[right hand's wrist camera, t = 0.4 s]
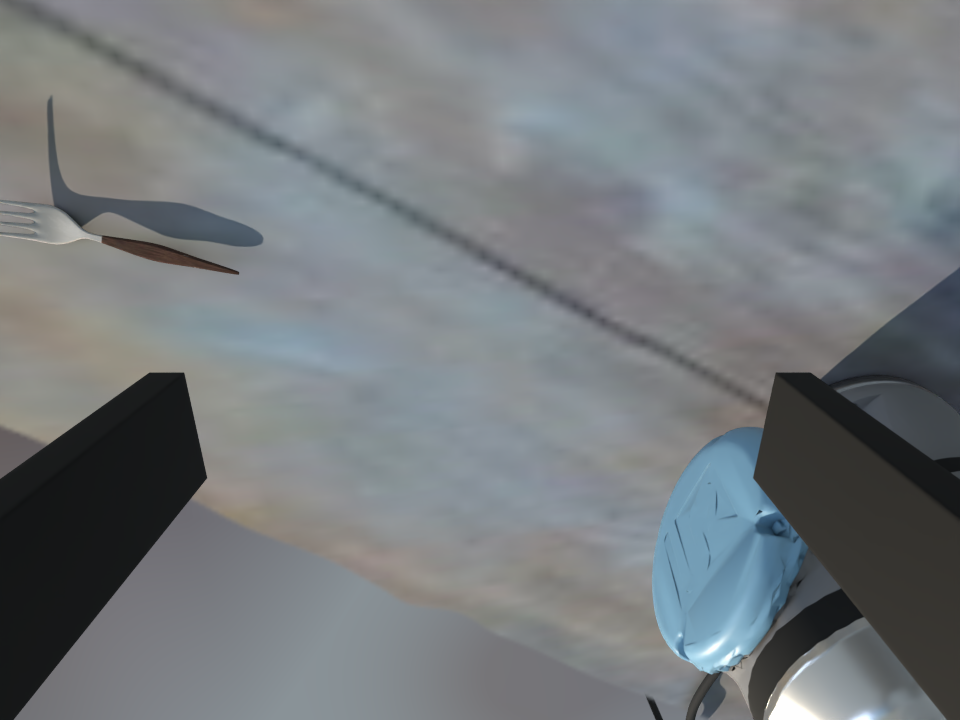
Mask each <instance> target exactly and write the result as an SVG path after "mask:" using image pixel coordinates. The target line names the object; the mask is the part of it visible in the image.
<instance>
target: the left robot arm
mask: <svg viewBox="0 0 960 720" xmlns="http://www.w3.org/2000/svg"><path fill="white" fill-rule="evenodd" d="M829 386H830V387H831V388H833V389H834V390H835V391H837V392H838V393H840V394H841V395H842V396H844V397H845V398H847V399H848V400H849V401H851V402H852V403H854V404H855V405H856V406H858V407H859V408H861V409H862V410H864V411H865V412H866V413H868V414H869V415H871V416H872V417H873V418H875V419H876V420H878V421H879V422H880V423H882V424H883V425H885V426H886V427H887V428H889V429H890V430H892V431H893V432H894V433H896V434H897V435H899V436H900V437H901V438H903V439H904V440H906V441H907V442H908V443H910V444H911V445H913V446H914V447H915V448H917V449H918V450H920V451H921V452H922V453H924V454H925V455H927V456H928V457H930V458H931V459H932V460H934V461H935V462H937V463H938V464H939V465H941V466H942V467H944V468H945V469H946V470H948V471H949V472H951V473H952V474H953V475H955V476H956V477H958V478H959V479H960V415H959V413H958V412H957V411H956V410H955V409H954V408H952V407H951V406H950V405H949V404H948V403H947V402H945V401H944V400H943V399H942V398H940V397H939V396H937V395H936V394H934V393H933V392H931V391H929V390H927V389H925V388H924V387H922V386H920V385H918V384H916V383H914V382H911V381H908V380H906V379H902V378H898V377H891V376H863V377H856V378H851V379H847V380H843V381H840V382H837V383H834V384H832V385H829ZM762 434H763V428H758V427H742V428H737V429H734V430H731V431H729V432H727V433H726V434H725V435H722V436H719V437H717V438H715V439H713V440H712V441H710V442H709V443H708V444H707V445H705V446H704V447H703V448H702V449H701V450H700V451H699V452H698V453H697V454H696V456H695V457H694V458H693V459H692V460H691V462H690V463H689V464H688V466H687V467H686V469H685V470H684V472H683V473H682V475H681V477H680V479H679V480H678V482H677V484H676V486H675V488H674V490H673V492H672V494H671V497H670V499H669V501H668V504H667V507H666V509H665V512H664V515H663V518H662V521H661V525H660V529H659V533H658V539H657V542H656V547H655V553H654V561H653V573H652V590H653V602H654V609H655V614H656V619H657V622H658V625H659V628H660V631H661V633H662V635H663V638H664V639H665V641H666V642H667V644H668V646H669V647H670V648H671V649H672V650H673V651H674V653H675V654H676V655H677V656H679V657H680V658H682V659H683V660H686V661H688V662H691V663H693V664H694V665H695V666H696V667H697V668H698V669H699V670H700V671H702V670H703V671H705V672H707V673H708V674H707V676H706V677H705V679H704V680H703V682H702V683H701V685H700V686H699V688H698V689H697V691H696V693H695V695H694V697H693V698H692V700H691V703H690V705H689V708H688V712H687V716H686V720H695V717H696V713H697V710H698V708H699V705H700V703H701V702H702V700H703V698H704V696H705V695H706V693H707V691H708V690H709V688H710V687H711V685H712V684H713V683H714V681H715V680H716V678H717V677H718V676H719V674H720V673H721V672H724V673H726V674H728V675H729V676H730V677H732V678H733V679H734V680H735V682H736V683H737V684H738V686H739V688H740V689H741V692H742V694H743V696H744V698H745V701H746V703H747V705H748V707H749V709H750V711H751V714H752V717H753V719H754V720H946V718H945V717H944V716H943V715H942V713H941V712H940V711H939V710H938V708H937V707H936V706H935V705H934V703H933V702H932V701H931V700H930V698H929V697H928V696H927V695H926V693H925V692H924V691H923V690H922V688H921V687H920V686H919V685H918V683H917V682H916V681H915V680H914V679H913V677H912V676H911V675H910V674H909V672H908V671H907V670H906V669H905V667H904V666H903V665H902V664H901V662H900V661H899V660H898V659H897V657H896V656H895V655H894V654H893V652H892V651H891V650H890V649H889V647H888V646H887V645H886V644H885V642H884V641H883V640H882V639H881V637H880V636H879V635H878V634H877V632H876V631H875V630H874V629H873V627H872V626H871V625H870V624H869V622H868V621H867V620H866V619H865V617H864V616H863V615H862V614H861V612H860V611H859V610H858V609H857V607H856V606H855V605H854V604H853V602H852V601H851V600H850V599H849V597H848V596H847V595H846V594H845V592H844V591H843V590H842V589H841V587H840V586H839V585H838V584H837V582H836V581H835V580H834V579H833V577H832V576H831V575H830V574H829V572H828V571H827V570H826V569H825V567H824V566H823V565H822V564H821V562H820V561H819V560H818V559H817V557H816V556H815V555H814V554H813V552H812V551H811V550H810V549H809V547H808V546H807V545H806V544H805V542H804V541H803V540H802V539H801V537H800V536H799V535H798V534H797V532H796V531H795V530H794V529H793V527H792V526H791V525H790V524H789V522H788V521H787V520H786V519H785V517H784V516H783V515H782V514H781V512H780V511H779V510H778V509H777V507H776V506H775V505H774V504H773V502H772V501H771V500H770V499H769V498H768V496H767V495H766V494H765V493H764V491H763V490H762V489H761V488H760V486H759V485H758V484H757V483H756V481H755V480H754V479H753V475H754V471H755V466H756V461H757V457H758V452H759V448H760V443H761V439H762ZM646 698H647V701H648V703H649V705H650V708H651V710H652V712H653V715H654V717H655V720H663V718H662V716H661V714H660V711H659V709H658V707H657V705H656V702H655V700H654V699H652V698H650V697H647V696H646Z"/></svg>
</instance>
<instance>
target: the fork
mask: <svg viewBox="0 0 960 720" xmlns="http://www.w3.org/2000/svg"><path fill="white" fill-rule="evenodd" d="M0 203H1V204H7V205H13V206H19V207H24V208H29V209H32V210H33V211H34V212H33V213H20V212H8V211H0V214H2V215H8V216H15V217H21V218H26V219H30V220H33V221H34V223H32V224H25V223H13V222H0V225H5V226H11V227H18V228H24V229H29V230H32V231H34V232H35V233H34V234H20V233H5V232H0V235H1V236H8V237H15V238H22V239H29V240H35V241H40V242H45V243H50V244H65V243H70V242H73V241H76V240H79V239H84V238H86V239H91V240H95V241H98V242H101V243H104V244H106V245H109V246H112V247H115V248H117V249H120V250H123V251H126V252H128V253H131V254H134V255H137V256H140V257H143V258H146V259H149V260H153V261H157V262H162V263H168V264H175V265H182V266H188V267H195V268H201V269H207V270H212V271H218V272H224V273H230V274H237V275H239V272H238V271H235V270H233V269H230V268H227V267H224V266H221V265H218V264H215V263H212V262H209V261H205V260H202V259H199V258H197V257H194V256H191V255H188V254H185V253H182V252H180V251H177V250H174V249H171V248H168V247H165V246H162V245H158V244H154V243H149V242H143V241H137V240H130V239H123V238H116V237H109V236H103V235H97V234H92V233H89V232H87V231H85V230H84V229H83V228H82V227H80V226H79V225H78V224H77V223H76V222H75V221H74V220H73V219H72V218H71V217H70V216H69V215H68V214H67V213H65V212H64V211H62V210H61V209H59V208H57V207H54V206H51V205H46V204H37V203H27V202H17V201H6V200H0Z"/></svg>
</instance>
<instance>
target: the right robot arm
mask: <svg viewBox="0 0 960 720" xmlns="http://www.w3.org/2000/svg"><path fill="white" fill-rule="evenodd" d="M206 479H207V475H206V471H205V466H204V461H203V457H202V452H201V448H200V443H199V439H198V434H197V429H196V425H195V420H194V416H193V411H192V406H191V402H190V397H189V393H188V388H187V384H186V379H185V374H184V373H148V374H147V375H146V376H144V377H143V378H141V379H140V380H139V381H137V382H136V383H134V384H133V385H132V386H130V387H129V388H127V389H126V390H125V391H123V392H122V393H120V394H119V395H118V396H116V397H115V398H113V399H112V400H111V401H109V402H108V403H106V404H105V405H104V406H102V407H101V408H99V409H98V410H96V411H95V412H94V413H92V414H91V415H89V416H88V417H87V418H85V419H84V420H82V421H81V422H80V423H78V424H77V425H75V426H74V427H73V428H71V429H70V430H68V431H67V432H66V433H64V434H63V435H61V436H60V437H59V438H57V439H56V440H54V441H53V442H52V443H50V444H49V445H47V446H46V447H45V448H43V449H42V450H40V451H39V452H38V453H36V454H35V455H33V456H32V457H31V458H29V459H28V460H26V461H25V462H24V463H22V464H21V465H19V466H18V467H17V468H15V469H14V470H12V471H11V472H9V473H8V474H7V475H5V476H4V477H2V478H1V479H0V720H14V718H15V717H16V716H17V715H18V713H19V712H20V711H21V710H22V708H23V707H24V706H25V705H26V703H27V702H28V701H29V700H30V698H31V697H32V696H33V695H34V693H35V692H36V691H37V690H38V688H39V687H40V686H41V685H42V683H43V682H44V681H45V680H46V679H47V677H48V676H49V675H50V674H51V672H52V671H53V670H54V668H55V667H56V666H57V665H58V664H59V662H60V661H61V660H62V659H63V657H64V656H65V655H66V653H67V652H68V651H69V650H70V648H71V647H72V646H73V645H74V643H75V642H76V641H77V640H78V639H79V637H80V636H81V635H82V634H83V632H84V631H85V630H86V629H87V627H88V626H89V625H90V624H91V622H92V621H93V620H94V619H95V617H96V616H97V615H98V614H99V612H100V611H101V610H102V609H103V607H104V606H105V605H106V604H107V602H108V601H109V600H110V599H111V597H112V596H113V595H114V594H115V592H116V591H117V590H118V589H119V587H120V586H121V585H122V584H123V582H124V581H125V580H126V579H127V577H128V576H129V575H130V574H131V572H132V571H133V570H134V569H135V567H136V566H137V565H138V564H139V562H140V561H141V560H142V559H143V557H144V556H145V555H146V554H147V552H148V551H149V550H150V549H151V547H152V546H153V545H154V544H155V542H156V541H157V540H158V539H159V537H160V536H161V535H162V534H163V532H164V531H165V530H166V529H167V527H168V526H169V525H170V524H171V522H172V521H173V520H174V519H175V517H176V516H177V515H178V514H179V512H180V511H181V510H182V509H183V507H184V506H185V505H186V504H187V502H188V501H189V500H190V499H191V498H192V496H193V495H194V494H195V493H196V491H197V490H198V489H199V488H200V486H201V485H202V484H203V483H204V481H205V480H206ZM753 479H754V480H755V481H756V483H757V484H758V485H759V486H760V488H761V489H762V490H763V491H764V493H765V494H766V495H767V496H768V498H769V499H770V500H771V501H772V502H773V504H774V505H775V506H776V507H777V509H778V510H779V511H780V512H781V514H782V515H783V516H784V517H785V519H786V520H787V521H788V522H789V524H790V525H791V526H792V527H793V529H794V530H795V531H796V532H797V534H798V535H799V536H800V537H801V539H802V540H803V541H804V542H805V544H806V545H807V546H808V547H809V549H810V550H811V551H812V552H813V554H814V555H815V556H816V557H817V559H818V560H819V561H820V562H821V564H822V565H823V566H824V567H825V569H826V570H827V571H828V572H829V574H830V575H831V576H832V577H833V579H834V580H835V581H836V582H837V584H838V585H839V586H840V587H841V589H842V590H843V591H844V592H845V594H846V595H847V596H848V597H849V599H850V600H851V601H852V602H853V604H854V605H855V606H856V607H857V609H858V610H859V611H860V612H861V614H862V615H863V616H864V617H865V619H866V620H867V621H868V622H869V624H870V625H871V626H872V627H873V629H874V630H875V631H876V632H877V634H878V635H879V636H880V637H881V639H882V640H883V641H884V642H885V644H886V645H887V646H888V647H889V649H890V650H891V651H892V652H893V654H894V655H895V656H896V657H897V659H898V660H899V661H900V662H901V664H902V665H903V666H904V667H905V669H906V670H907V671H908V672H909V674H910V675H911V676H912V677H913V679H914V680H915V681H916V682H917V683H918V685H919V686H920V687H921V688H922V690H923V691H924V692H925V693H926V695H927V696H928V697H929V698H930V700H931V701H932V702H933V703H934V705H935V706H936V707H937V708H938V710H939V711H940V712H941V713H942V715H943V716H944V717H945V718H946V720H960V479H959V478H958V477H956V476H955V475H953V474H952V473H951V472H949V471H948V470H946V469H945V468H944V467H942V466H941V465H939V464H938V463H937V462H935V461H934V460H932V459H931V458H930V457H928V456H927V455H925V454H924V453H922V452H921V451H920V450H918V449H917V448H915V447H914V446H913V445H911V444H910V443H908V442H907V441H906V440H904V439H903V438H901V437H900V436H899V435H897V434H896V433H894V432H893V431H892V430H890V429H889V428H887V427H886V426H885V425H883V424H882V423H880V422H879V421H878V420H876V419H875V418H873V417H872V416H871V415H869V414H868V413H866V412H865V411H864V410H862V409H861V408H859V407H858V406H856V405H855V404H854V403H852V402H851V401H849V400H848V399H847V398H845V397H844V396H842V395H841V394H840V393H838V392H837V391H835V390H834V389H833V388H831V387H830V386H828V385H827V384H826V383H824V382H823V381H821V380H820V379H819V378H817V377H816V376H814V375H813V374H812V373H776V374H775V379H774V384H773V388H772V393H771V397H770V402H769V406H768V411H767V416H766V420H765V425H764V429H763V434H762V439H761V443H760V448H759V452H758V457H757V461H756V466H755V471H754V475H753Z"/></svg>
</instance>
